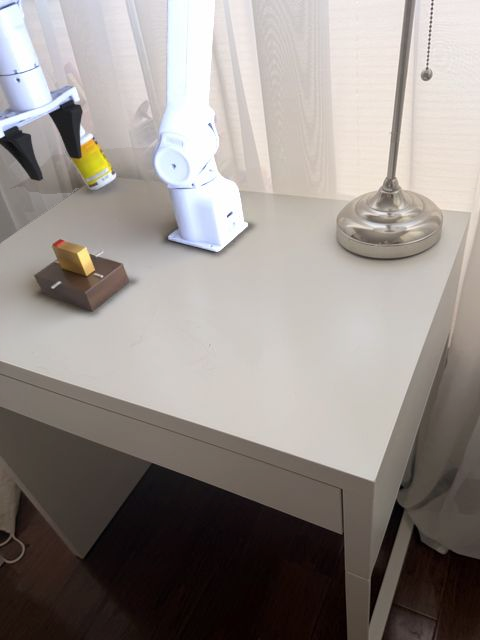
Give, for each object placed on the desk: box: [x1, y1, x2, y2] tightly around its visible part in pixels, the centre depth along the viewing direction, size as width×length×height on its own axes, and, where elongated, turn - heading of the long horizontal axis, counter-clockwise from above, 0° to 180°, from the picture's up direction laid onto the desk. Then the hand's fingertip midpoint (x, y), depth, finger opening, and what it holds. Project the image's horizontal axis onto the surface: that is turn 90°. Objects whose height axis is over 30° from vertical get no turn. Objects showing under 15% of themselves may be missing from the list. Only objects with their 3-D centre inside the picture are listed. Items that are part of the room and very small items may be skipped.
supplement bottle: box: [59, 124, 117, 191], centre depth 94 cm, size 6×6×10 cm
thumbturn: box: [51, 238, 95, 276], centre depth 71 cm, size 5×2×4 cm, turn 57°
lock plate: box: [33, 250, 130, 312], centre depth 73 cm, size 10×9×3 cm
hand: (57, 167), depth 81 cm, fingers open, 7 cm apart
